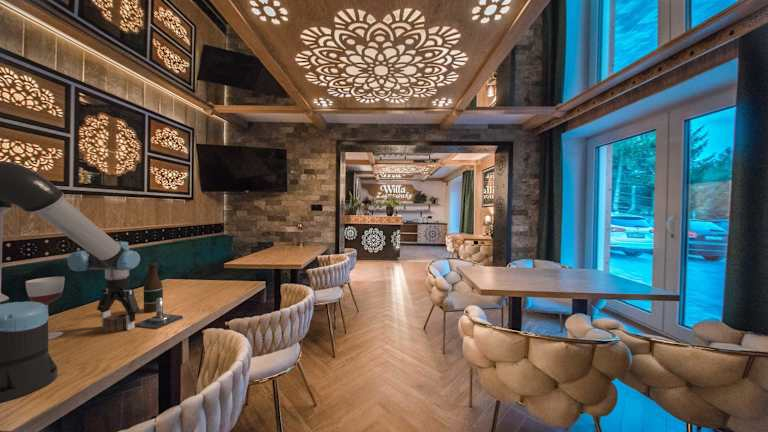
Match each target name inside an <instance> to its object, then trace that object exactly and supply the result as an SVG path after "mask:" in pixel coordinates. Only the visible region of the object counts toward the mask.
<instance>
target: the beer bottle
mask: <svg viewBox="0 0 768 432" xmlns="http://www.w3.org/2000/svg"><path fill="white" fill-rule="evenodd" d="M163 287H164V286H163V283H162V281H161V279H160V278H159V275H158V263H157V262H149V263H148V277H147V279H146V281H145V282H144V285H143V311H144V312H145V313H146V314H148V313H156V300H157V298H160V297H161V298H163V297H164V296H163V295H164V288H163ZM163 299H164V298H163Z"/></svg>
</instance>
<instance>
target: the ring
mask: <svg viewBox="0 0 768 432" xmlns="http://www.w3.org/2000/svg"><path fill="white" fill-rule="evenodd" d="M127 314H128V313H127V312H122V313H116V314H111V316H108V317H106V318H104V319H103V329H102V330H103V333H107V334H111V333H118V332H121V331H125V330H126V331H127V329H126V315H127Z"/></svg>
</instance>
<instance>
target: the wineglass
mask: <svg viewBox="0 0 768 432" xmlns="http://www.w3.org/2000/svg"><path fill="white" fill-rule="evenodd" d="M65 280H66V279H65V276H50V277H41V278H35V279H30V280H25V290H26V294H27V297H28V299H29V301H30V302H39V303H42V304H44V305H45V306H46V307H47V311H48V312H49V304H51V303H52V302H56V301H57V300H58V299H59V298H61V296H62V295H63V293H64V292H63V291H64V288H65ZM63 334H64V332H62V331H55V332H54V331H53V332H49V329H48V340H51V339H54V338H57V337H59V336H62V335H63Z"/></svg>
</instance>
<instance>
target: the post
mask: <svg viewBox="0 0 768 432" xmlns="http://www.w3.org/2000/svg"><path fill="white" fill-rule="evenodd" d="M155 314H156V315H155V316H152V317H150V318H147V319H144V320H141V321H138V322H135V328H136V327H138V328H147V329H156V330H158V329H160V328H163V327H166V326H169V325H170V324H172V323H174V322H177V321H179V320H180V321H181V320H182V319H184V316H183V315H177V314H166V313H164V298H161V297H160V298H157V300H156V312H155Z"/></svg>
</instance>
